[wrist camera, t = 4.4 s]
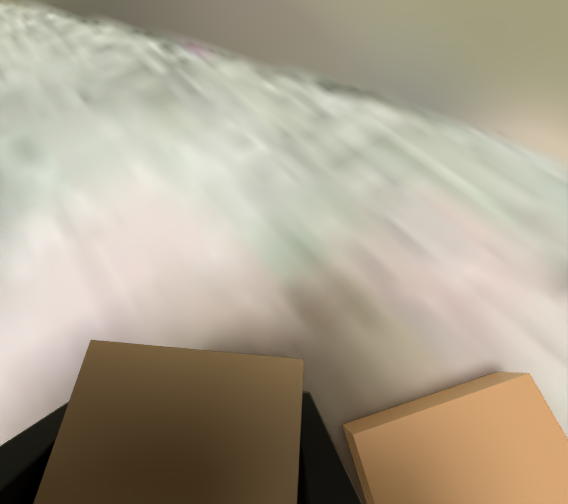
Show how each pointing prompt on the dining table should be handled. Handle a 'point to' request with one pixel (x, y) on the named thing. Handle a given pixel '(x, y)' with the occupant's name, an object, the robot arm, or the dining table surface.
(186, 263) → the dining table surface
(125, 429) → the walnut block
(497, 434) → the terracotta tile
